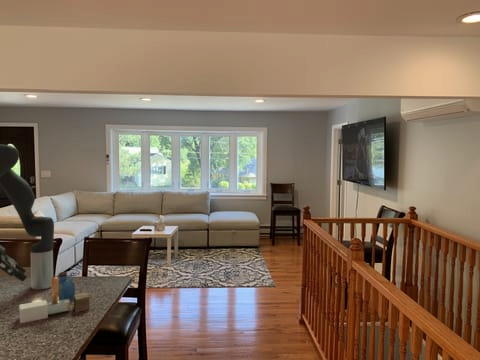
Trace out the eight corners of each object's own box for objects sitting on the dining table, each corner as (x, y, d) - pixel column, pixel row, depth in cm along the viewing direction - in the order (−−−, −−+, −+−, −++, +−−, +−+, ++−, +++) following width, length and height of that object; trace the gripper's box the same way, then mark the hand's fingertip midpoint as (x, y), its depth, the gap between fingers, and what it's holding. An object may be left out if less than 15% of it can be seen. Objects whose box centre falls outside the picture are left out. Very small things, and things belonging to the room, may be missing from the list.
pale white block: (19, 318, 138) (19, 304, 137) (46, 312, 143) (46, 300, 142) (20, 323, 133) (19, 309, 133) (47, 317, 138) (47, 304, 138)
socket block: (73, 307, 148) (73, 295, 148) (86, 304, 151) (86, 292, 151) (76, 311, 144) (75, 299, 144) (89, 309, 147) (89, 296, 146)
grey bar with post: (22, 316, 138) (21, 281, 137) (68, 307, 146) (68, 274, 146) (23, 319, 135) (22, 284, 134) (70, 310, 143) (69, 276, 143)
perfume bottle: (74, 298, 157) (74, 271, 157) (63, 304, 152) (63, 276, 151) (63, 297, 159) (63, 270, 159) (52, 302, 154) (51, 274, 153)
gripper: (-6, 245, 124) (33, 272, 131) (-5, 237, 136) (31, 263, 143) (-25, 262, 122) (16, 289, 128) (-22, 253, 134) (15, 278, 140)
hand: (24, 275), depth 136 cm, fingers open, 8 cm apart
